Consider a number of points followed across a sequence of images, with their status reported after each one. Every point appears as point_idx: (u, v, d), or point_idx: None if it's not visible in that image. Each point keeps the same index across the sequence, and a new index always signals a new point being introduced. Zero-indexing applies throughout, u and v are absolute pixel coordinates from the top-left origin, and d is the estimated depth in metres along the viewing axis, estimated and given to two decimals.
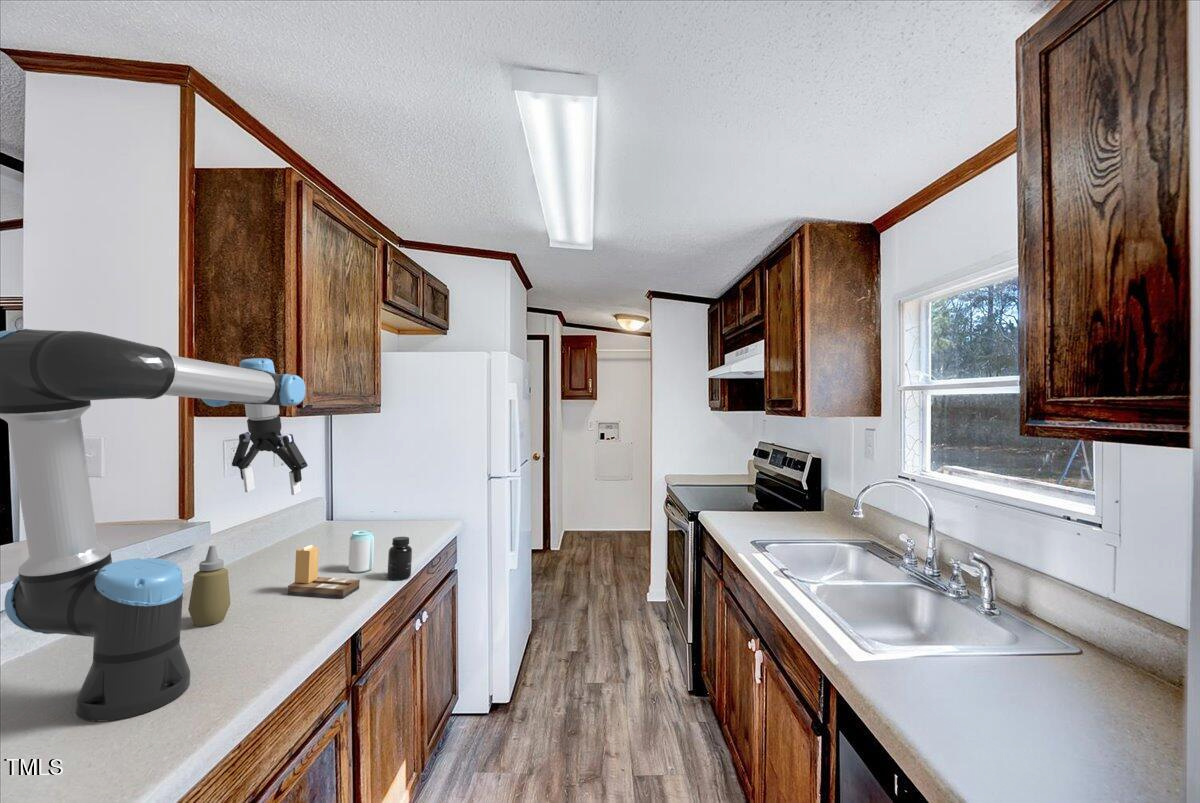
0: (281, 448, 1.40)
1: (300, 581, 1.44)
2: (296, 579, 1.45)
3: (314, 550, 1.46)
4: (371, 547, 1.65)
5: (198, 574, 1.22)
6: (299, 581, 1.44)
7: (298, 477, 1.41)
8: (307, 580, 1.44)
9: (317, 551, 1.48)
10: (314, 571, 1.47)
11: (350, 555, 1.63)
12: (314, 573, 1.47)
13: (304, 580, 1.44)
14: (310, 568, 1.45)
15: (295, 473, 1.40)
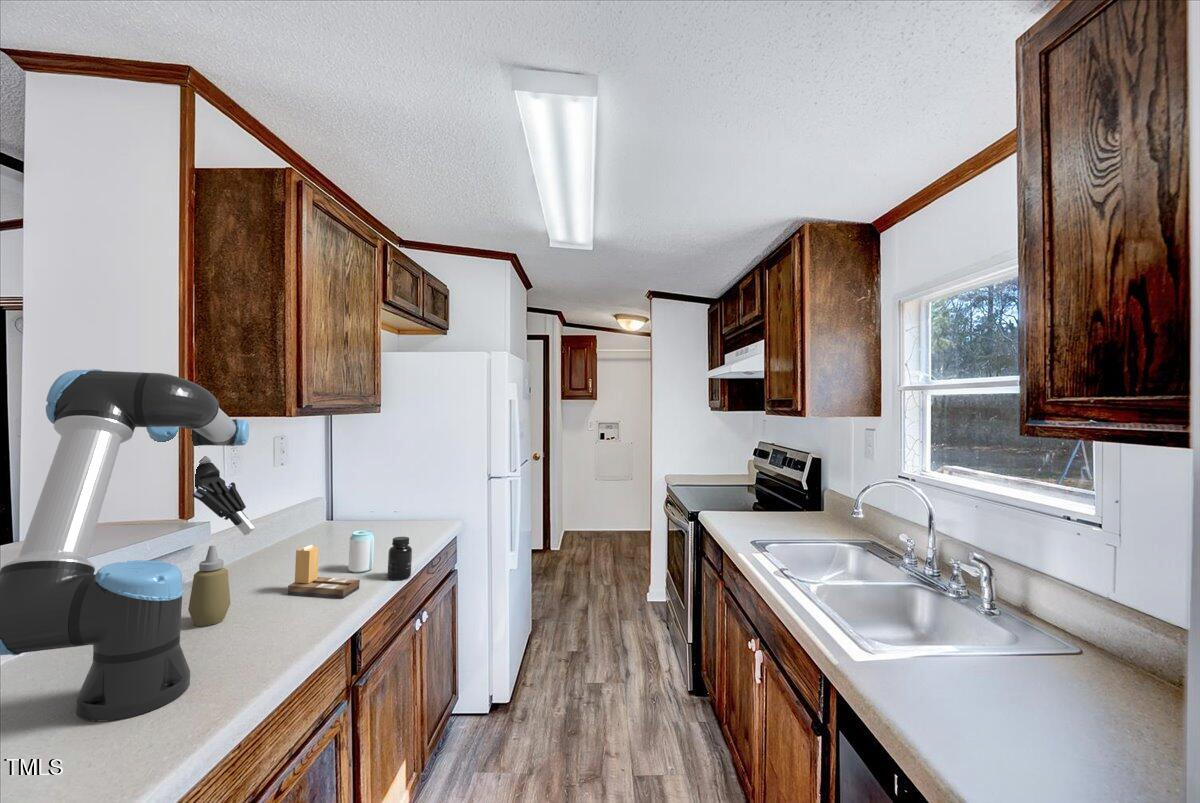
0: None
1: (300, 581, 1.44)
2: (296, 579, 1.45)
3: (314, 550, 1.46)
4: (371, 547, 1.65)
5: (198, 574, 1.22)
6: (299, 581, 1.44)
7: None
8: (307, 580, 1.44)
9: (317, 551, 1.48)
10: (314, 571, 1.47)
11: (350, 555, 1.63)
12: (314, 573, 1.47)
13: (304, 580, 1.44)
14: (310, 568, 1.45)
15: None
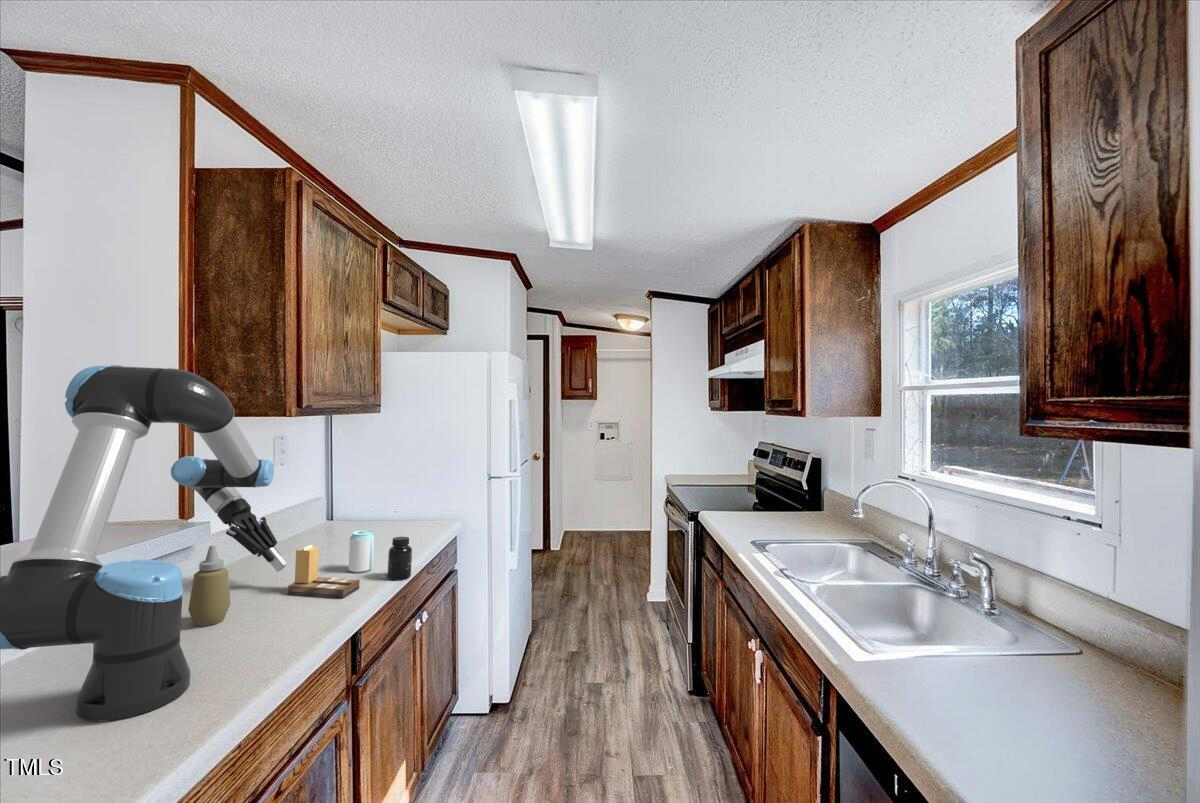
0: None
1: (300, 581, 1.44)
2: (296, 579, 1.45)
3: (314, 550, 1.46)
4: (371, 547, 1.65)
5: (198, 574, 1.22)
6: (299, 581, 1.44)
7: None
8: (307, 580, 1.44)
9: (317, 551, 1.48)
10: (314, 571, 1.47)
11: (350, 555, 1.63)
12: (314, 573, 1.47)
13: (304, 580, 1.44)
14: (310, 568, 1.45)
15: None
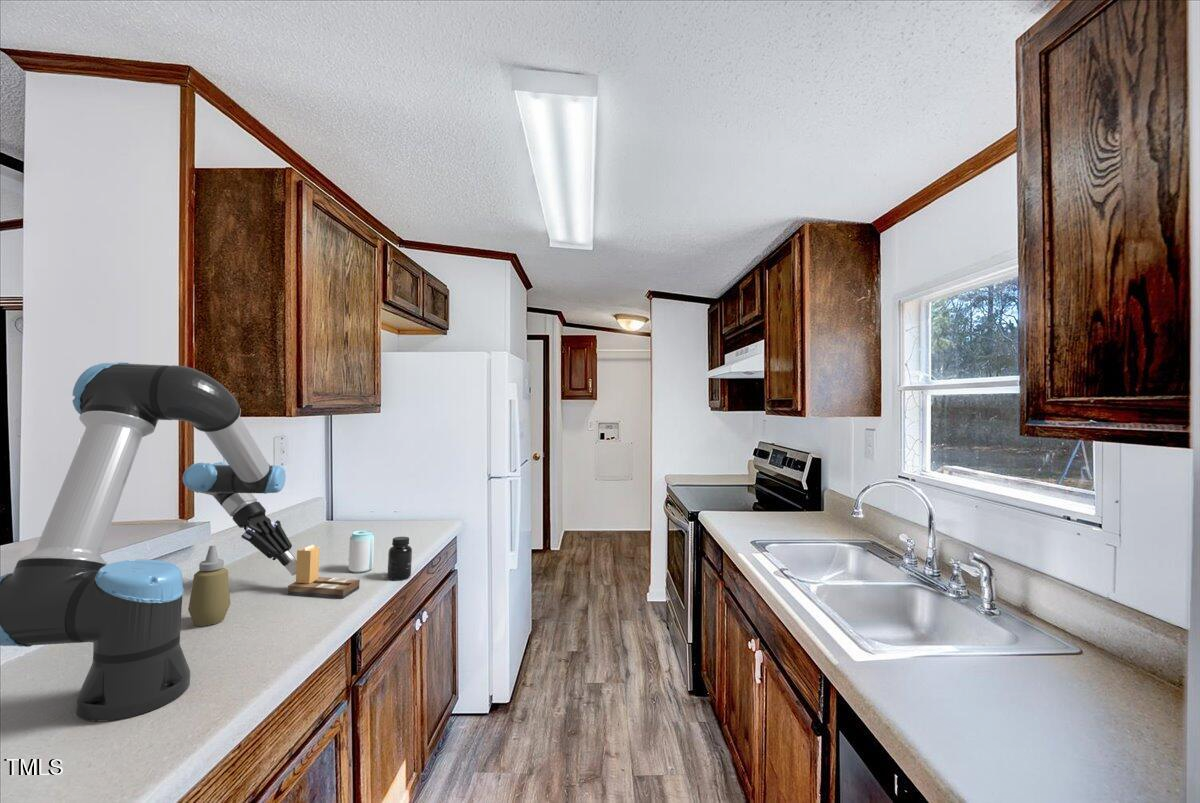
0: None
1: (301, 581, 1.44)
2: (297, 579, 1.45)
3: (315, 550, 1.46)
4: (371, 547, 1.65)
5: (198, 574, 1.22)
6: (300, 581, 1.44)
7: None
8: (308, 580, 1.44)
9: (318, 551, 1.48)
10: (315, 571, 1.47)
11: (350, 555, 1.63)
12: (315, 573, 1.47)
13: (305, 580, 1.44)
14: (311, 568, 1.45)
15: None
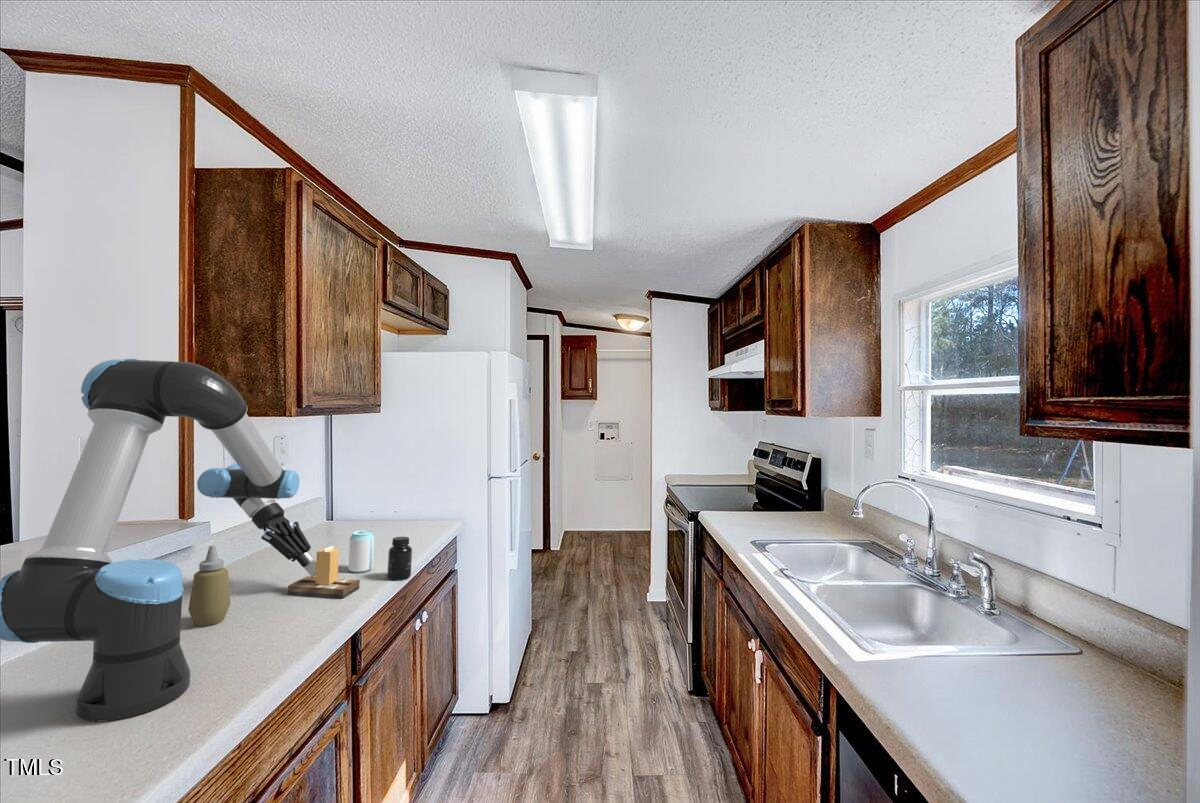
0: None
1: (321, 582, 1.44)
2: (317, 580, 1.44)
3: (334, 551, 1.46)
4: (371, 547, 1.65)
5: (198, 574, 1.22)
6: (320, 582, 1.44)
7: None
8: (328, 581, 1.44)
9: (338, 552, 1.47)
10: (334, 572, 1.46)
11: (350, 555, 1.63)
12: (334, 574, 1.46)
13: (325, 581, 1.44)
14: (330, 569, 1.44)
15: None
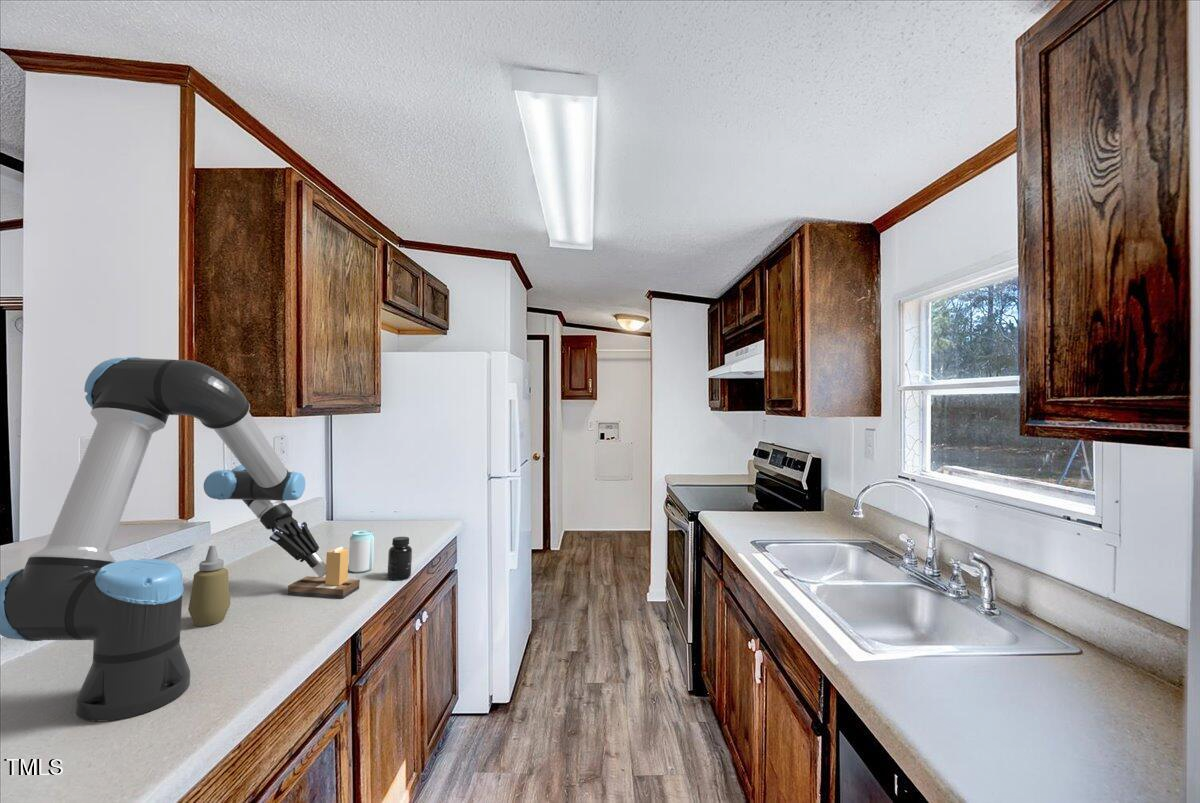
0: None
1: (331, 583, 1.44)
2: (327, 581, 1.44)
3: (344, 552, 1.46)
4: (371, 547, 1.65)
5: (198, 574, 1.22)
6: (330, 583, 1.44)
7: None
8: (338, 582, 1.44)
9: (347, 553, 1.47)
10: (344, 573, 1.46)
11: (350, 555, 1.63)
12: (344, 575, 1.46)
13: (335, 582, 1.44)
14: (340, 570, 1.44)
15: None
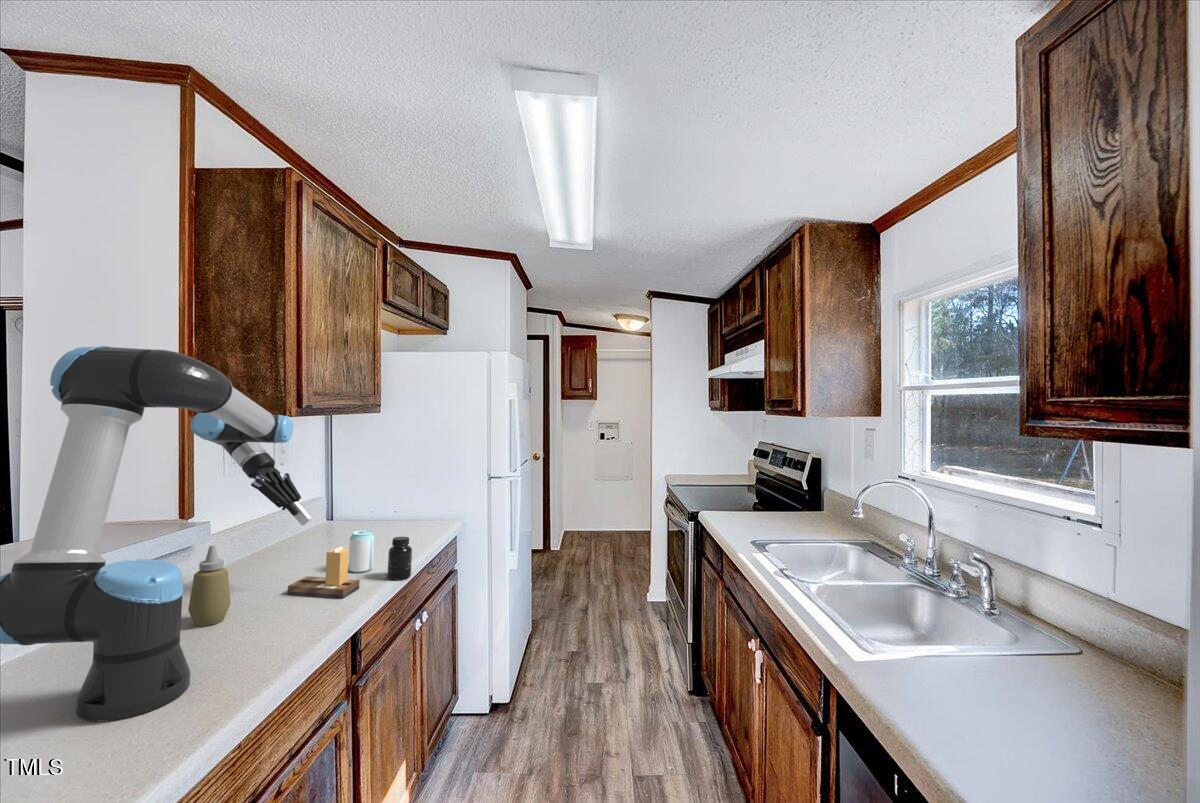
0: None
1: (331, 583, 1.44)
2: (327, 581, 1.44)
3: (344, 552, 1.46)
4: (371, 547, 1.65)
5: (198, 574, 1.22)
6: (330, 583, 1.44)
7: None
8: (338, 582, 1.44)
9: (347, 553, 1.47)
10: (344, 573, 1.46)
11: (350, 555, 1.63)
12: (344, 575, 1.46)
13: (335, 582, 1.44)
14: (340, 570, 1.44)
15: None
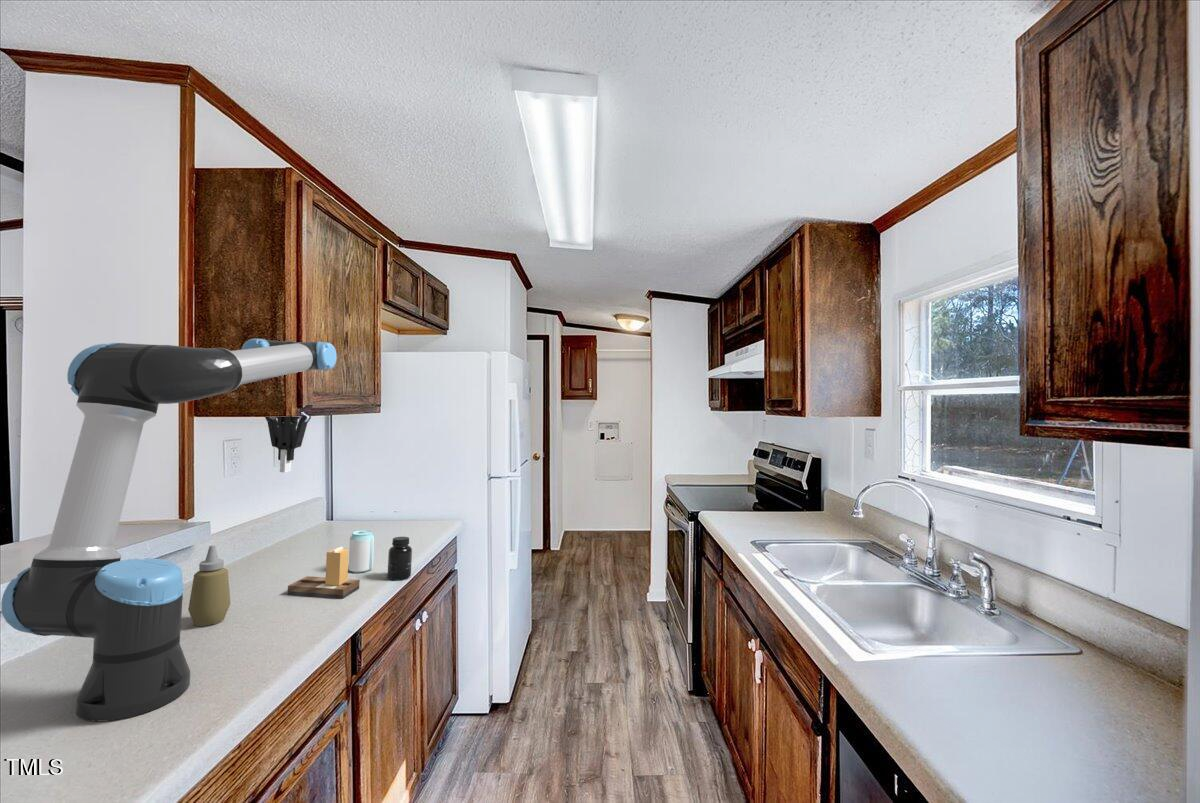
0: (293, 424, 1.51)
1: (331, 583, 1.44)
2: (327, 581, 1.44)
3: (344, 552, 1.46)
4: (371, 547, 1.65)
5: (198, 574, 1.22)
6: (330, 583, 1.44)
7: (291, 455, 1.51)
8: (338, 582, 1.44)
9: (347, 553, 1.47)
10: (344, 573, 1.46)
11: (350, 555, 1.63)
12: (344, 575, 1.46)
13: (335, 582, 1.44)
14: (340, 570, 1.44)
15: (288, 452, 1.51)
